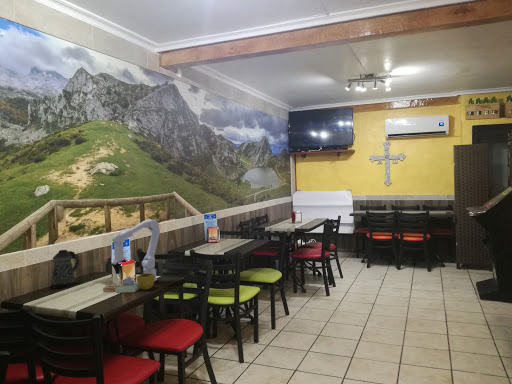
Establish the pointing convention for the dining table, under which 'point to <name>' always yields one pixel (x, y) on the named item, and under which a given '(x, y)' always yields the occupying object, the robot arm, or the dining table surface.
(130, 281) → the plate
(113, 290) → the stand
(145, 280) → the flower pot
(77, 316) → the dining table surface
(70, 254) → the beer stein
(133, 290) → the grey-green flat piece
